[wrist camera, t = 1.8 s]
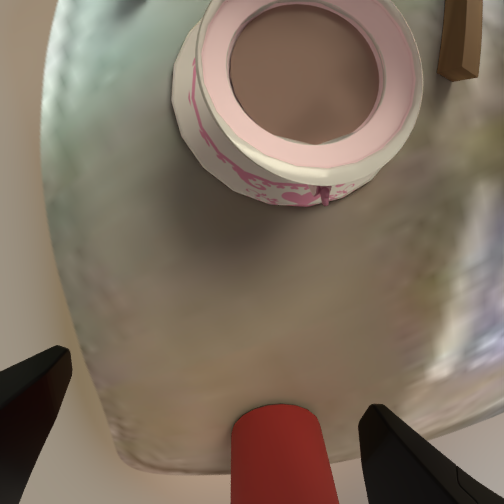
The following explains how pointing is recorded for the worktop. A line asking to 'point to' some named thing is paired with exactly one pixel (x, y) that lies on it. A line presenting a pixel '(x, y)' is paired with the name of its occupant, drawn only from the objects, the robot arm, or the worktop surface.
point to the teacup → (297, 95)
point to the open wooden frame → (461, 40)
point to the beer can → (280, 458)
